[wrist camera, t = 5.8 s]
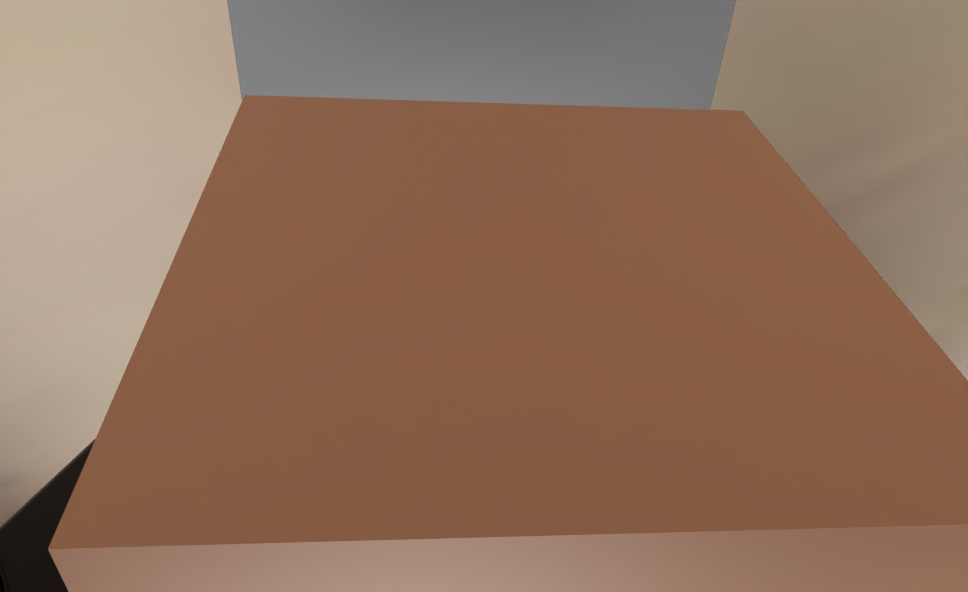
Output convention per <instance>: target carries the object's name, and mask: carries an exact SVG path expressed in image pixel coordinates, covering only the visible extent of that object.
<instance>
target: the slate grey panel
mask: <svg viewBox="0 0 968 592" xmlns="http://www.w3.org/2000/svg"><path fill="white" fill-rule="evenodd" d="M227 3H228V10H229V16H230V23H231V30H232V37H233V43H234V50H235V57H236V64H237V70H238V77H239V84H240V91H241V97H242V101H243V98H244V96H245V95H258V96H290V97H321V98H353V99H384V100H415V101H447V102H478V103H509V104H541V105H572V106H603V107H635V108H666V109H698V110H710V106H711V102H712V98H713V94H714V90H715V85H716V81H717V77H718V73H719V69H720V65H721V61H722V57H723V52H724V48H725V44H726V40H727V36H728V32H729V28H730V24H731V19H732V15H733V11H734V7H735V3H736V0H227Z"/></svg>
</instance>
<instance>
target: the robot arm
mask: <svg viewBox="0 0 968 592" xmlns="http://www.w3.org/2000/svg"><path fill="white" fill-rule="evenodd" d="M94 442H95V440H93V441H92V442H91V443H90V444H89V445H88V446H87V447H86V448H85V449H84V450H83V451H82V452H81V453H79V454H78V455H77V456H76V457H75V458H74V459H73V460H72V461H71V462H70V463H69V464H68V465H67V466H66V467H64V468H63V469H62V470H61V471H60V472H59V473H58V474H57V475H56V476H55V477H54V478H53V479H52V480H50V481H49V482H48V483H47V484H46V485H45V486H44V487H43V488H42V489H41V490H40V491H39V492H38V493H37V494H35V495H34V496H33V497H32V498H31V499H30V500H29V501H28V502H27V503H26V504H25V505H24V506H23V507H21V508H20V509H19V510H18V511H17V512H16V513H15V514H14V515H13V516H12V517H11V518H10V519H9V520H7V521H6V522H5V523H4V524H3V525H2V526H1V527H0V592H68V589H67V587H66V585H65V583H64V581H63V579H62V577H61V575H60V573H59V571H58V569H57V567H56V565H55V563H54V561H53V559H52V556H51V554H50V552H49V550H48V548H49V545H50V543H51V541H52V539H53V536H54V534H55V532H56V529H57V527H58V525H59V522H60V520H61V518H62V515H63V513H64V511H65V509H66V506H67V504H68V502H69V499H70V497H71V495H72V492H73V490H74V488H75V486H76V483H77V481H78V479H79V476H80V474H81V472H82V469H83V467H84V465H85V462H86V460H87V458H88V456H89V453H90V451H91V449H92V446H93V444H94Z"/></svg>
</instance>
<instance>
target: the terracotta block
mask: <svg viewBox="0 0 968 592" xmlns="http://www.w3.org/2000/svg"><path fill="white" fill-rule="evenodd" d="M48 550H49V552H50V554H51V556H52V559H53V561H54V563H55V565H56V567H57V569H58V571H59V573H60V575H61V577H62V579H63V581H64V583H65V585H66V587H67V589H68V592H968V381H967V379H966V378H965V377H964V376H963V375H962V373H961V372H960V371H959V370H958V369H957V367H956V366H955V365H954V364H953V363H952V361H951V360H950V359H949V358H948V357H947V355H946V354H945V353H944V352H943V351H942V349H941V348H940V347H939V346H938V345H937V343H936V342H935V341H934V340H933V339H932V337H931V336H930V335H929V334H928V333H927V331H926V330H925V329H924V328H923V327H922V325H921V324H920V323H919V322H918V321H917V319H916V318H915V317H914V316H913V315H912V313H911V312H910V311H909V310H908V309H907V307H906V306H905V305H904V304H903V303H902V301H901V300H900V299H899V298H898V297H897V295H896V294H895V293H894V292H893V291H892V289H891V288H890V287H889V286H888V285H887V283H886V282H885V281H884V280H883V279H882V277H881V276H880V275H879V274H878V273H877V271H876V270H875V269H874V268H873V267H872V265H871V264H870V263H869V262H868V261H867V259H866V258H865V257H864V256H863V255H862V253H861V252H860V251H859V250H858V249H857V247H856V246H855V245H854V244H853V243H852V241H851V240H850V239H849V238H848V237H847V235H846V234H845V233H844V232H843V231H842V229H841V228H840V227H839V226H838V225H837V223H836V222H835V221H834V220H833V219H832V217H831V216H830V215H829V214H828V213H827V211H826V210H825V209H824V208H823V207H822V205H821V204H820V203H819V202H818V201H817V199H816V198H815V197H814V196H813V195H812V193H811V192H810V191H809V190H808V189H807V187H806V186H805V185H804V184H803V183H802V181H801V180H800V179H799V178H798V177H797V175H796V174H795V173H794V172H793V171H792V169H791V168H790V167H789V166H788V165H787V163H786V162H785V161H784V160H783V159H782V157H781V156H780V155H779V154H778V153H777V151H776V150H775V149H774V148H773V147H772V145H771V144H770V143H769V142H768V141H767V139H766V138H765V137H764V136H763V135H762V133H761V132H760V131H759V130H758V129H757V127H756V126H755V125H754V124H753V123H752V121H751V120H750V119H749V118H748V117H747V115H746V114H745V113H744V112H743V111H729V110H698V109H666V108H635V107H603V106H572V105H541V104H509V103H478V102H447V101H415V100H384V99H353V98H321V97H290V96H258V95H245V96H244V98H243V101H242V103H241V105H240V108H239V110H238V112H237V115H236V117H235V119H234V121H233V124H232V126H231V128H230V131H229V133H228V135H227V138H226V140H225V142H224V144H223V147H222V149H221V151H220V154H219V156H218V158H217V161H216V163H215V165H214V168H213V170H212V172H211V174H210V177H209V179H208V181H207V184H206V186H205V188H204V191H203V193H202V195H201V197H200V200H199V202H198V204H197V207H196V209H195V211H194V214H193V216H192V218H191V221H190V223H189V225H188V227H187V230H186V232H185V234H184V237H183V239H182V241H181V244H180V246H179V248H178V250H177V253H176V255H175V257H174V260H173V262H172V264H171V267H170V269H169V271H168V274H167V276H166V278H165V280H164V283H163V285H162V287H161V290H160V292H159V294H158V297H157V299H156V301H155V303H154V306H153V308H152V310H151V313H150V315H149V317H148V320H147V322H146V324H145V327H144V329H143V331H142V333H141V336H140V338H139V340H138V343H137V345H136V347H135V350H134V352H133V354H132V356H131V359H130V361H129V363H128V366H127V368H126V370H125V373H124V375H123V377H122V380H121V382H120V384H119V386H118V389H117V391H116V393H115V396H114V398H113V400H112V403H111V405H110V407H109V409H108V412H107V414H106V416H105V419H104V421H103V423H102V426H101V428H100V430H99V433H98V435H97V437H96V439H95V442H94V444H93V446H92V449H91V451H90V453H89V456H88V458H87V460H86V462H85V465H84V467H83V469H82V472H81V474H80V476H79V479H78V481H77V483H76V486H75V488H74V490H73V492H72V495H71V497H70V499H69V502H68V504H67V506H66V509H65V511H64V513H63V515H62V518H61V520H60V522H59V525H58V527H57V529H56V532H55V534H54V536H53V539H52V541H51V543H50V545H49V548H48Z"/></svg>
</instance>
